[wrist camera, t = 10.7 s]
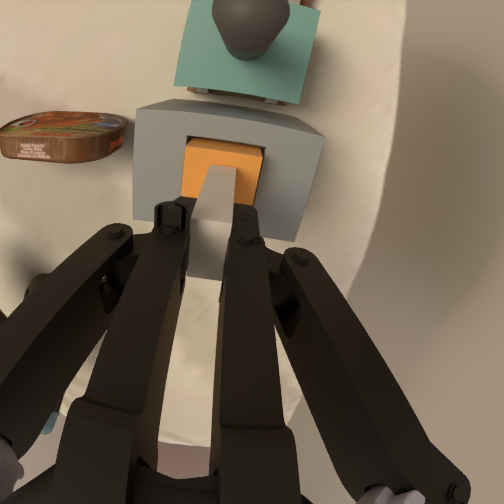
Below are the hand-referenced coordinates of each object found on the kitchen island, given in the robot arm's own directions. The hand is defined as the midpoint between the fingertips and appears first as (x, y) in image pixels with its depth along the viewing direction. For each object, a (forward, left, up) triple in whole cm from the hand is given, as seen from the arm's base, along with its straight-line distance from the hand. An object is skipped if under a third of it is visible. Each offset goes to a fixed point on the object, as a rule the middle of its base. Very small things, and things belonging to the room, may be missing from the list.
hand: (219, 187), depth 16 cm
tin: (-17, +1, -12) cm, 21 cm away
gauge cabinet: (0, 0, -12) cm, 12 cm away
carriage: (0, +9, -9) cm, 13 cm away
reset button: (0, 0, -3) cm, 3 cm away
